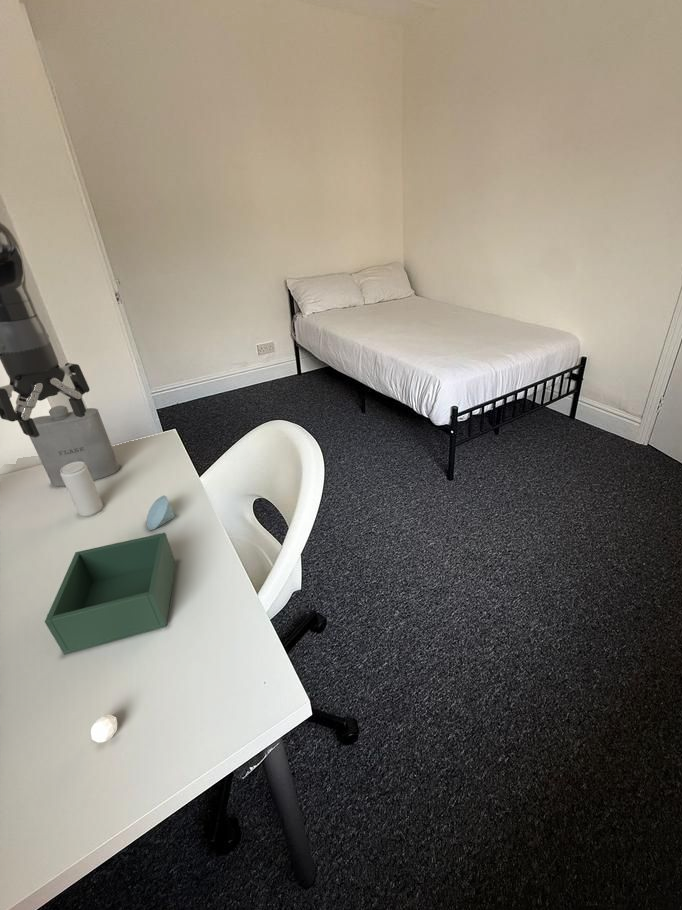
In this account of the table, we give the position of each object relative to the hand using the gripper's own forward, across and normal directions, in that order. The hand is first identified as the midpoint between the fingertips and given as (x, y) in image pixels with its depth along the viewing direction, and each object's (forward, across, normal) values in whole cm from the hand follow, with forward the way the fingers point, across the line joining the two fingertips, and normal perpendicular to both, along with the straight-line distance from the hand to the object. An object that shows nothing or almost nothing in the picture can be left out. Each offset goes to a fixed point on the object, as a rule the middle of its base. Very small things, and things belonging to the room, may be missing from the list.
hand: (58, 425), depth 79 cm
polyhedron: (+25, +27, +39) cm, 54 cm away
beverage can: (+25, -3, -7) cm, 26 cm away
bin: (+25, +12, +23) cm, 36 cm away
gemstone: (+25, -6, +11) cm, 28 cm away
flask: (+25, -11, -21) cm, 35 cm away
